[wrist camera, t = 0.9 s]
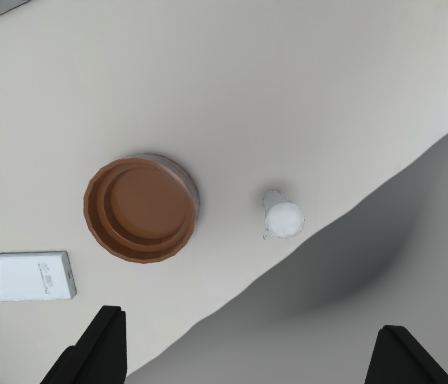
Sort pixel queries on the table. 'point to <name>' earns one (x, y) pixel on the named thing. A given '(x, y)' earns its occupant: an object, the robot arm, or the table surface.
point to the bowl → (141, 208)
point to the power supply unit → (9, 4)
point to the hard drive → (35, 276)
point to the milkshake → (281, 215)
